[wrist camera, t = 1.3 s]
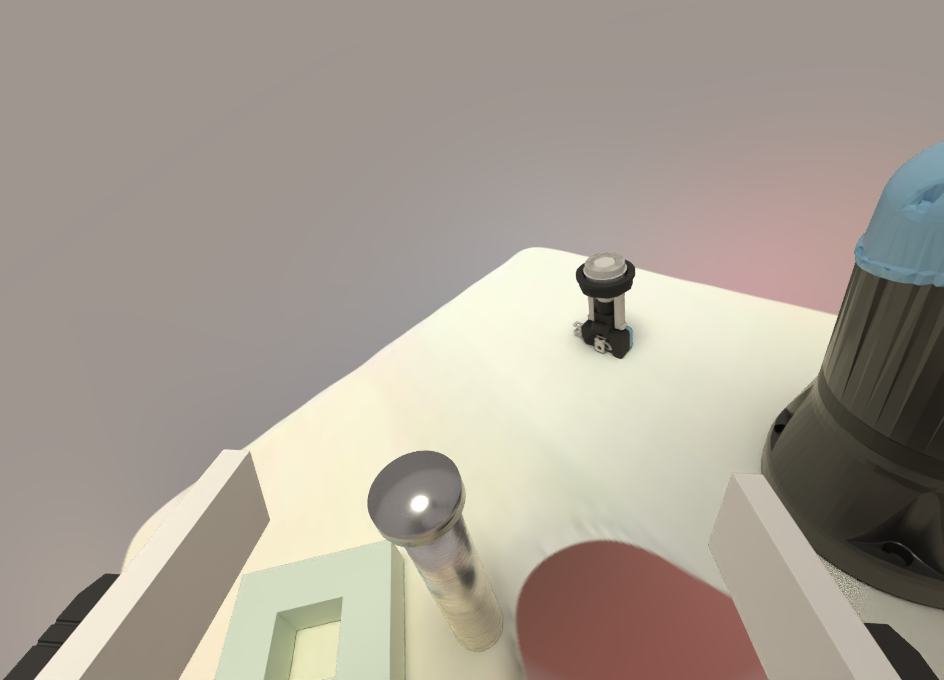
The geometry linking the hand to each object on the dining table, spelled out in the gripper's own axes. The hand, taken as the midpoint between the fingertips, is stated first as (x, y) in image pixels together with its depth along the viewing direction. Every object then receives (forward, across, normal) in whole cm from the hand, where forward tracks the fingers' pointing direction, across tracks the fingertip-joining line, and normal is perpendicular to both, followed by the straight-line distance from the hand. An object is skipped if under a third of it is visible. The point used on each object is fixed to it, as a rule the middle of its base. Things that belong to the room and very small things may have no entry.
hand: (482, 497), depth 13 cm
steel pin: (+9, -1, -20) cm, 22 cm away
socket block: (+7, -11, -23) cm, 26 cm away
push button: (+35, +11, -13) cm, 39 cm away
